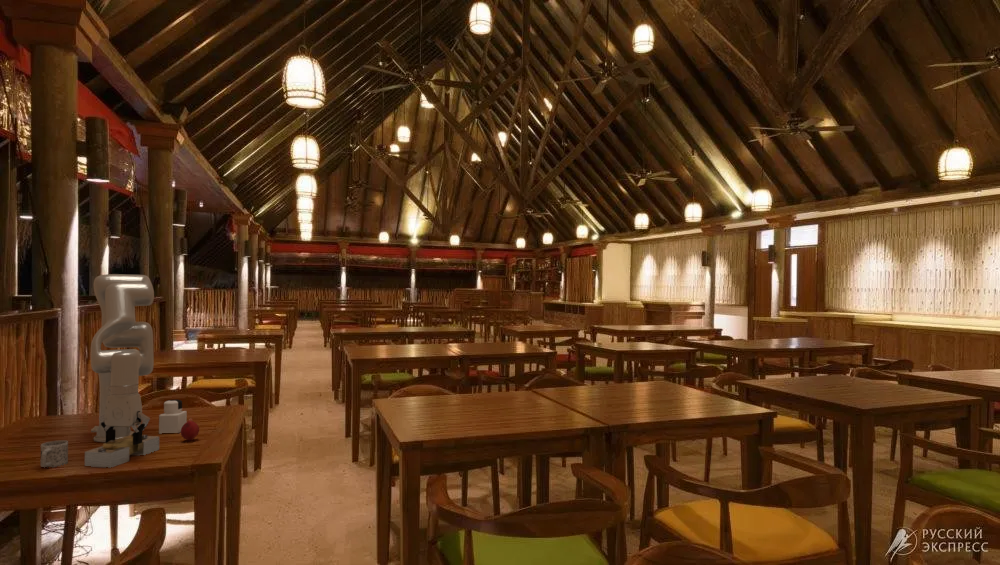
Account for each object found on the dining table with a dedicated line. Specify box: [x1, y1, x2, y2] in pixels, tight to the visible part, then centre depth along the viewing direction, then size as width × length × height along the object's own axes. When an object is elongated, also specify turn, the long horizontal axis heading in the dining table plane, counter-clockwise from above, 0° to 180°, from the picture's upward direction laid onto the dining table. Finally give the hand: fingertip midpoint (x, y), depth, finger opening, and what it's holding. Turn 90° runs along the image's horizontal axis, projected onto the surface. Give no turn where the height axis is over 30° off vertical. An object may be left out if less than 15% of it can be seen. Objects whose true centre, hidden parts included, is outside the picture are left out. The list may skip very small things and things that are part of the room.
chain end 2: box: [129, 434, 160, 456], centre depth 189 cm, size 9×7×5 cm
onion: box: [180, 418, 200, 442], centre depth 204 cm, size 6×6×8 cm
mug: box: [40, 439, 69, 469], centre depth 174 cm, size 10×7×7 cm, turn 13°
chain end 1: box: [84, 445, 130, 469], centre depth 177 cm, size 9×7×5 cm
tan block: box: [102, 434, 138, 454], centre depth 183 cm, size 4×12×6 cm, turn 172°
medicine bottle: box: [158, 399, 188, 435], centre depth 218 cm, size 7×7×12 cm
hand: (123, 443), depth 183 cm, fingers open, 9 cm apart
